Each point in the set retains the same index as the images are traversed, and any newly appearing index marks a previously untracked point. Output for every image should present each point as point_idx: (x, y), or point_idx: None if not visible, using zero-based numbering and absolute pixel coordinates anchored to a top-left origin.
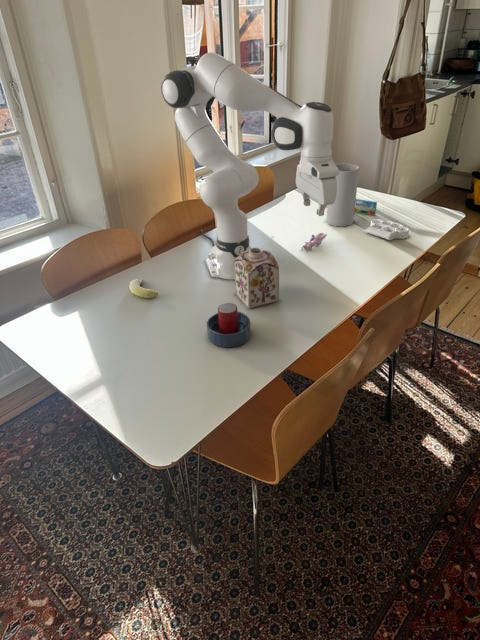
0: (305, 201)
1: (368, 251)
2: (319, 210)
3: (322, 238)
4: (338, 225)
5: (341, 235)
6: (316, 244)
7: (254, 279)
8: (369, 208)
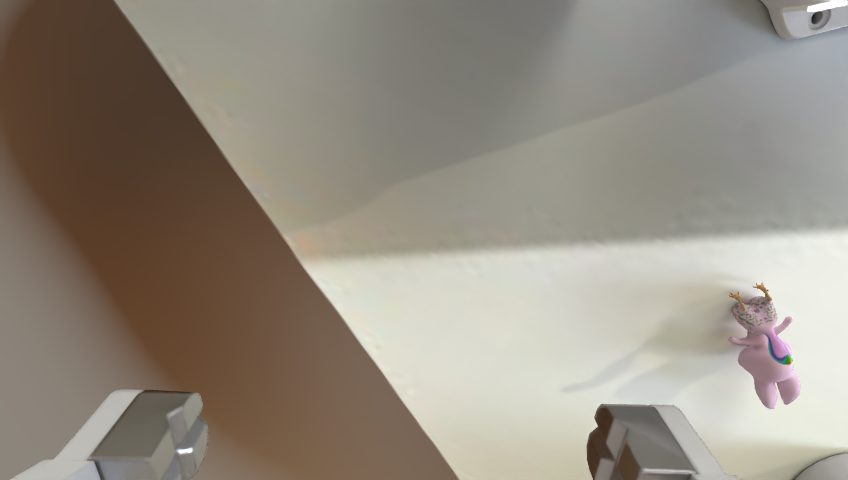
0: (638, 463)
1: None
2: (35, 467)
3: (757, 381)
4: (812, 468)
5: (748, 442)
6: (749, 346)
7: None
8: None
